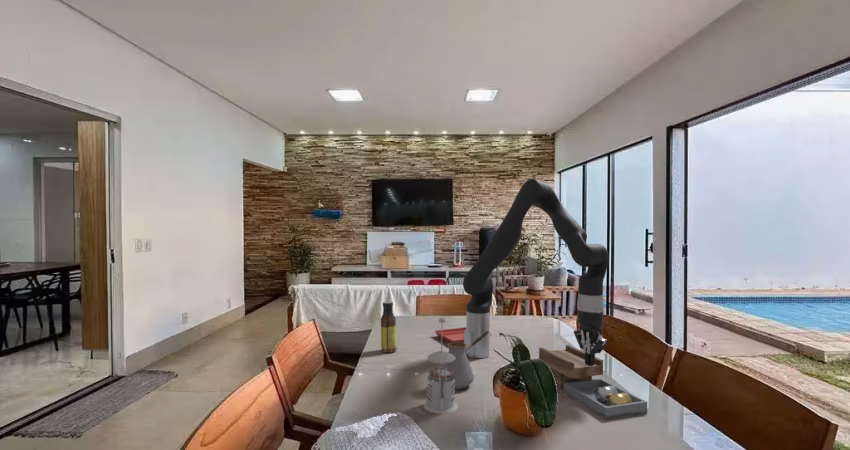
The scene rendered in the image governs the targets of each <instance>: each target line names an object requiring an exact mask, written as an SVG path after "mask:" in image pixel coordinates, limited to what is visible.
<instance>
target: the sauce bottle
mask: <svg viewBox="0 0 850 450" xmlns="http://www.w3.org/2000/svg"><path fill="white" fill-rule="evenodd" d="M393 305H394V304H393V301H383V302H382V307H383V311H382V313H383V314H382V315H381V317H380V348H381V351H382V353H387V354H391V353H395V352H397V347H398V346H397V345H398V344H397V322H396V317H395V315H394V311H393V309H394V308H393Z"/></svg>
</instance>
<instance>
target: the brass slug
mask: <svg viewBox="0 0 850 450" xmlns="http://www.w3.org/2000/svg"><path fill="white" fill-rule="evenodd" d="M626 403H632V401H631V398H630V396H629V395H628V394H627V393H618V394H611V395H608V396H607V404H608V406H613V405H619V404H626Z"/></svg>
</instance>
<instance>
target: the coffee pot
mask: <svg viewBox="0 0 850 450" xmlns="http://www.w3.org/2000/svg"><path fill="white" fill-rule="evenodd" d="M487 334H488V331H486V332H485V333H483V334H482V335H481V336H480V337H478V338H477V339H476V340H475V341H474V342H473V343H472V344H471V345H470V346H468V347H467V345H466V344H465V343H461V342H451V343H449V342H447V344H446V347H448V352H447V353H450V354H452V355H453V356H455V358H456V359H455V360H454V361H453V362H451V363H447V364H442V368H447V369H451V370H452V371H453V372H454V374H453V376H454V377H455V382H454V384H455V387H454V388H455V390H462V389H466V388H468V387H469V386H470V385H471V384H472V383H473V381H475V374H474V371H473V369H472V366H471V364H470V361H469V359H468V356H467V355H466V354H465V352H467V351H468V350H469V349H470V348H471V347H472V346H474V345H475V344H476V343H478V342H479V341H480V340H481V339H482V338H483V337H485V335H487ZM487 336H488V335H487ZM489 336H492V333H491V332H489ZM466 347H467V348H466ZM465 348H466V349H465ZM447 382H450V381H448V380H447ZM451 389H452V387H451Z"/></svg>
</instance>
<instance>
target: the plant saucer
mask: <svg viewBox="0 0 850 450" xmlns="http://www.w3.org/2000/svg"><path fill="white" fill-rule="evenodd" d="M465 329H466V326H465V327H457V328H447V329H442V341H445V342H447V343H451V342H461V343H464V330H465ZM434 333H435V335H437V336H438V338H439V339H441V329H438V330H434Z"/></svg>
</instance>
